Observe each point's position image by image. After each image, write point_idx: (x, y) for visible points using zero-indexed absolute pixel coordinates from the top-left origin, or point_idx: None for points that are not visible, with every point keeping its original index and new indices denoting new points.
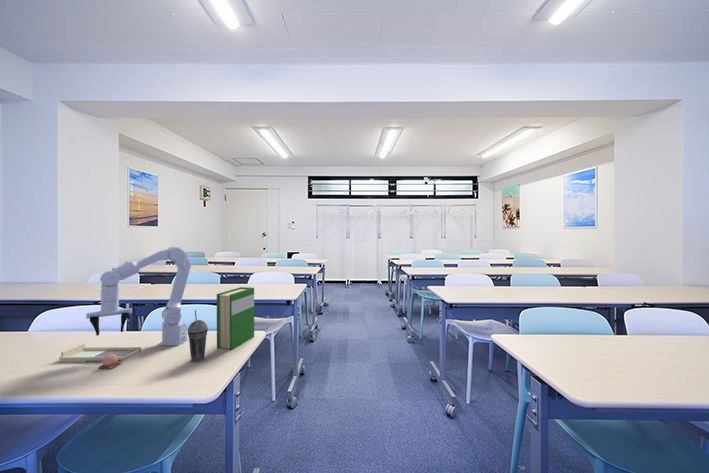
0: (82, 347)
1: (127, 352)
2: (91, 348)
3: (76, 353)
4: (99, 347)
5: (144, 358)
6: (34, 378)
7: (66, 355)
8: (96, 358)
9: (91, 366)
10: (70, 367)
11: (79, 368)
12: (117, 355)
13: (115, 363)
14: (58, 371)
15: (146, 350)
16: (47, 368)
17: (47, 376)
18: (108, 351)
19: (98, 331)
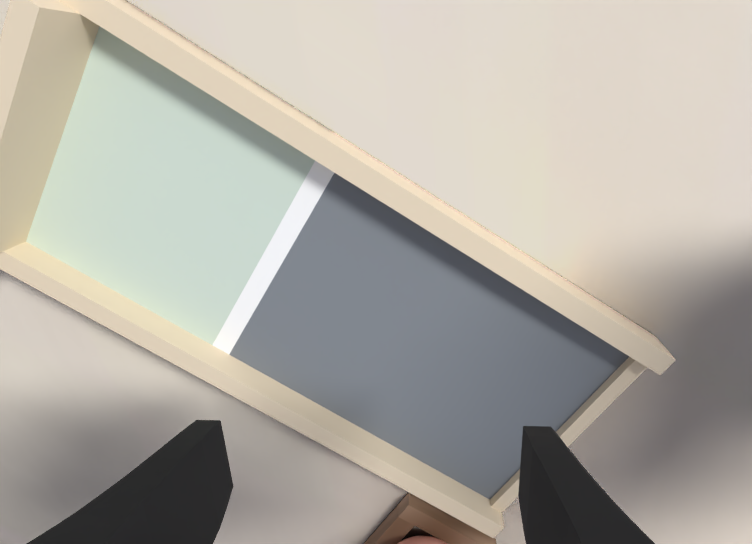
0: (59, 44)
1: (539, 357)
2: (167, 63)
3: (63, 116)
4: (253, 118)
5: (652, 529)
6: (27, 489)
7: (13, 221)
8: (308, 430)
9: (302, 478)
10: (162, 418)
11: (233, 471)
12: (458, 389)
13: (456, 541)
14: (115, 451)
15: (705, 346)
16: (3, 348)
17: (88, 498)
18: (365, 220)
19: (205, 539)
